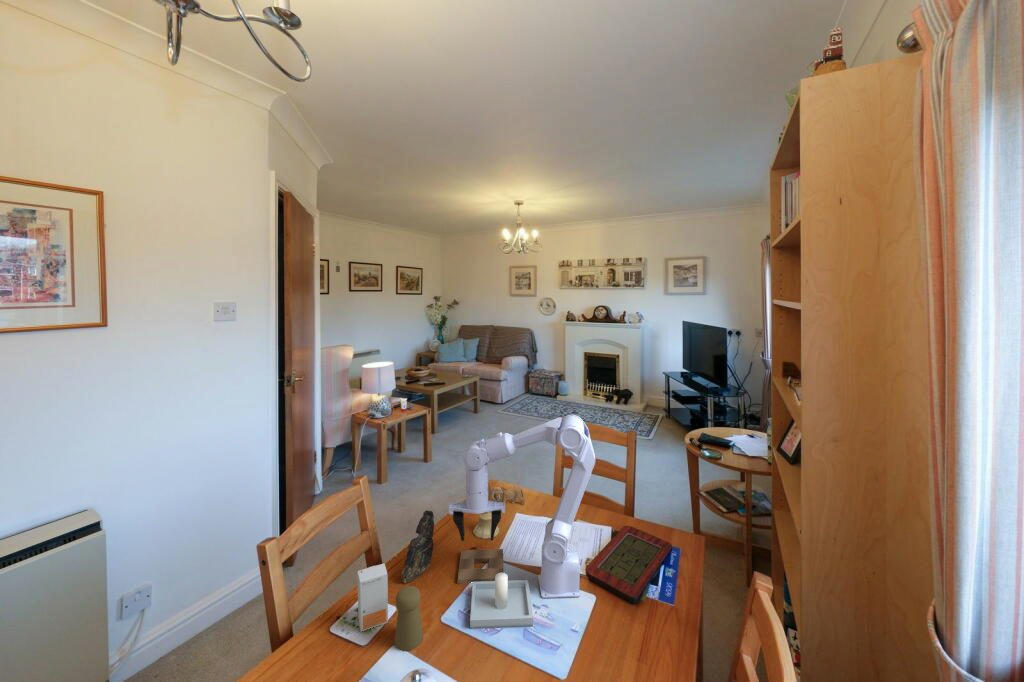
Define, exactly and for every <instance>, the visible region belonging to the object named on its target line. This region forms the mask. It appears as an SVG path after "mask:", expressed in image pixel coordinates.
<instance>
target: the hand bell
mask: <svg viewBox="0 0 1024 682" xmlns="http://www.w3.org/2000/svg"><path fill="white" fill-rule="evenodd" d="M491 491H492V488H491V486H490V482H488V501H491V497H492V495H491ZM478 515H479V516H478V522H477V524H476V525H475V526H474V528H473V530H472V533H473V535H474V536H475V537H476V538H478V539H484V540H487V539H491V523H492V512H485V513H480V514H478ZM498 534H500V528H499V526H498V525H497V527H496V530H495V533H494V538H495V537H497V536H498Z"/></svg>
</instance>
